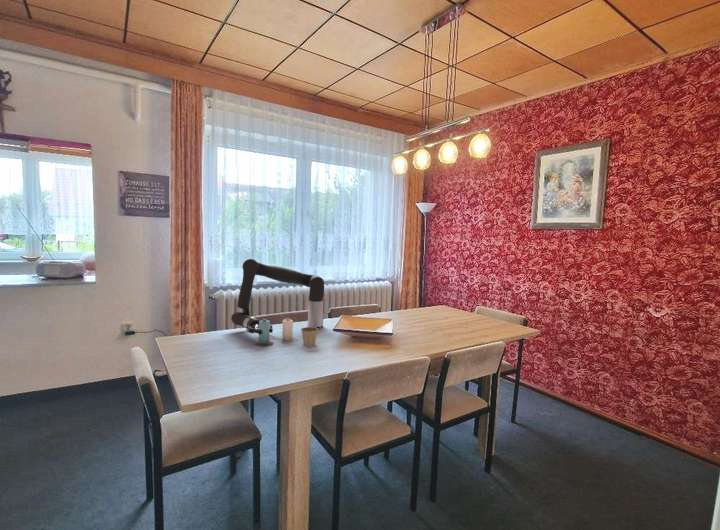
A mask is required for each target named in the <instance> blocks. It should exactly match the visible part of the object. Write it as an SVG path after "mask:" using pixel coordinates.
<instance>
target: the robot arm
mask: <svg viewBox="0 0 720 530" xmlns="http://www.w3.org/2000/svg"><path fill="white" fill-rule="evenodd" d="M241 268H242V270H243V272H242V273H243V274H242V281H241V286H240V289H239V294H238V298H237V303H236V304H237V308H239V309H241V310H243V311H242V312H240V311H235V312H233V313H232V315H231V318H230V319H231V322H232V323H233V324H234V325H237V326H240V327H243V328H245V332H247V333H249V334H258V335H259V334H260V335H261V334H262V330H260V329H259V321H261V319H258V318H256V317H253V316H251V311H250V304H251V300H252V293H253V285H254V281H255V277H256V276H259V277H260V276H261V277H265V278H268V279H271V280H274V281H277V282H280V283H285V284H293V285H301V286H304V287H308V288H309V295H308V305H307V307H308V310H307V327H314V328H317V327H320V328H322V327H324V311H323V309H324V308H323V303H324V301H323V300H324V296H325V280H324V279H323V277H321V276H319V275H316V274H315V275H314V274H307V273H303V272H299V271H297V270H296V269H295V270H294V269H291V268H287V267H284V266H278V265H267V264H264V263H261V262H258V261H257V260H255V259H253V258H247V259H246V260H244V262H243V263H242V266H241ZM321 326H322V327H321ZM273 329H274V328H273V325H272V324H271V323H270V334H272V333H273V332H274V331H273ZM317 329H318V328H317Z"/></svg>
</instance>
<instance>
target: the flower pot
mask: <svg viewBox="0 0 720 530" xmlns="http://www.w3.org/2000/svg"><path fill="white" fill-rule="evenodd" d="M300 331H301V334H302V343H303V345H304V346H308V347H309V346H310V347H312V346H315V345H316V339H317V334H318V331H319V328H314V327H308V326H307V327H306V326H305V327H302V328H300Z"/></svg>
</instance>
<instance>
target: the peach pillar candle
mask: <svg viewBox="0 0 720 530" xmlns="http://www.w3.org/2000/svg"><path fill="white" fill-rule="evenodd" d="M293 329H294V320H293V319H292V318H291V319H290V317H287V318H285V319H282V331H281V333H282V334H281V335H282V336H281V338H282V340H283V341H291V340H292V337H293V334H294V333H293Z"/></svg>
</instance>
